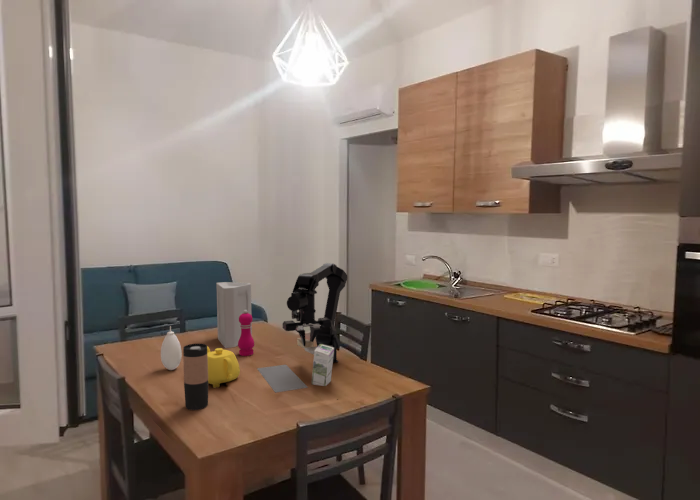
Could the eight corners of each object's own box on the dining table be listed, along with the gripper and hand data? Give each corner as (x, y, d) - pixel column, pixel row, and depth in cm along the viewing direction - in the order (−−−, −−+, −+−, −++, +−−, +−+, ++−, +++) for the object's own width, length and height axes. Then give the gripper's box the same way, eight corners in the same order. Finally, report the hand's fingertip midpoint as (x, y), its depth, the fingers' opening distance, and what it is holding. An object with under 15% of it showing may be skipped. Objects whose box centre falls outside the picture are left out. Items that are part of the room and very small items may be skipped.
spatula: (305, 344, 204) (305, 337, 204) (325, 352, 182) (325, 345, 182) (294, 345, 202) (293, 338, 202) (313, 354, 180) (312, 346, 180)
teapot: (214, 393, 174) (213, 357, 173) (188, 378, 189) (187, 346, 188) (247, 383, 184) (247, 350, 182) (221, 370, 198) (220, 339, 197)
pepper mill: (250, 356, 216) (249, 311, 214) (235, 355, 218) (234, 311, 216) (257, 352, 223) (256, 308, 221) (242, 351, 225) (241, 307, 223)
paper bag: (256, 344, 236) (255, 286, 233) (224, 348, 230) (223, 288, 227) (246, 334, 253) (245, 280, 251) (217, 338, 247) (216, 282, 244)
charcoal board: (286, 367, 202) (285, 364, 202) (308, 390, 176) (308, 387, 176) (256, 371, 197) (256, 368, 197) (275, 395, 172) (275, 392, 171)
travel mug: (187, 401, 166) (186, 343, 165) (211, 400, 167) (209, 343, 165) (182, 410, 159) (180, 350, 157) (206, 410, 160) (204, 349, 158)
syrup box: (331, 381, 183) (334, 346, 178) (325, 389, 178) (328, 354, 173) (317, 376, 185) (320, 342, 180) (310, 384, 179) (313, 350, 175)
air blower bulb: (185, 369, 200) (184, 325, 198) (167, 374, 194) (165, 329, 192) (176, 365, 205) (174, 322, 203) (157, 369, 199) (156, 325, 198)
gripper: (322, 301, 204) (322, 338, 205) (278, 304, 197) (279, 342, 198) (332, 306, 194) (332, 345, 195) (286, 309, 186) (286, 350, 188)
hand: (307, 345), depth 194 cm, fingers closed on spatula, 2 cm apart
